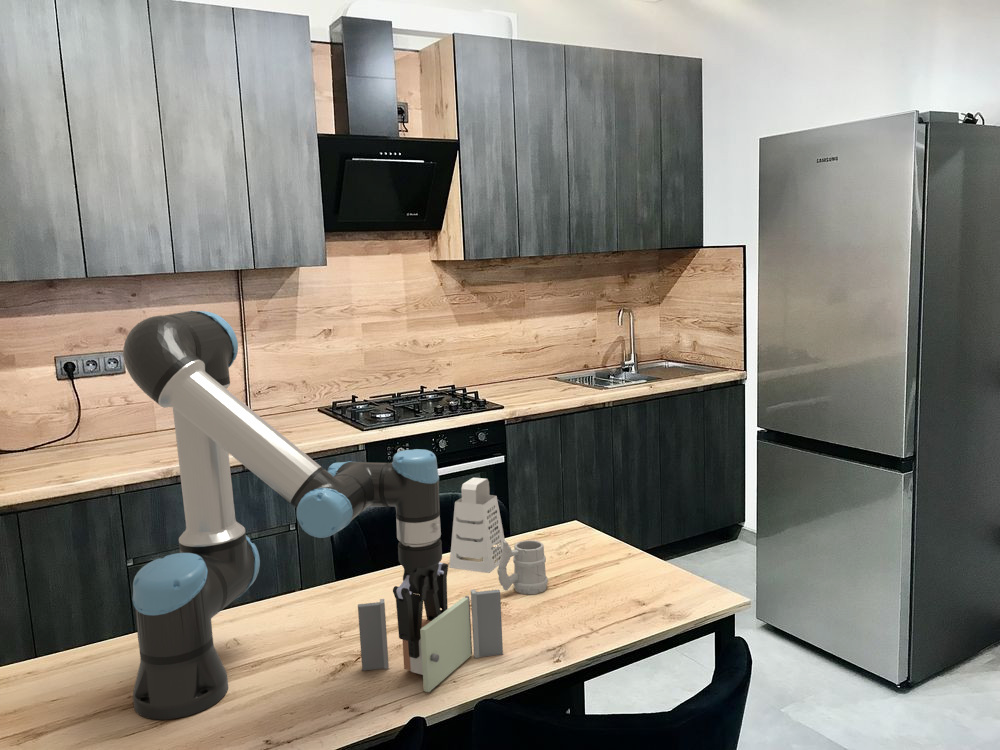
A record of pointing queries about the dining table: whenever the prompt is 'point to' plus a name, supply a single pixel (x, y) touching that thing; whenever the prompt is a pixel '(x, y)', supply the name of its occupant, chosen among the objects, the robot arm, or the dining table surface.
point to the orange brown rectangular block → (406, 650)
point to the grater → (476, 528)
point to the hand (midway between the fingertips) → (426, 666)
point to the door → (446, 643)
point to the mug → (524, 567)
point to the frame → (483, 624)
